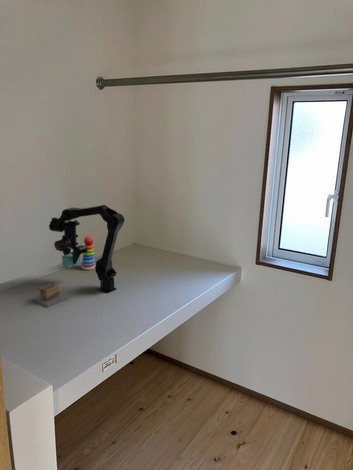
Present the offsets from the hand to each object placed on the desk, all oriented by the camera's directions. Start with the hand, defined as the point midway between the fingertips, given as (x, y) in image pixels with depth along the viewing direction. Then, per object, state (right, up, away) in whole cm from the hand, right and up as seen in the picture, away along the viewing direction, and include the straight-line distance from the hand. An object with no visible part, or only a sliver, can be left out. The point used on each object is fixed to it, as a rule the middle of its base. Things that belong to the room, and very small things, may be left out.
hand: (71, 262), depth 191 cm
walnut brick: (-5, -15, -17) cm, 23 cm away
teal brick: (0, -1, 0) cm, 1 cm away
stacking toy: (+3, -5, +24) cm, 25 cm away
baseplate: (-5, -16, -16) cm, 23 cm away
